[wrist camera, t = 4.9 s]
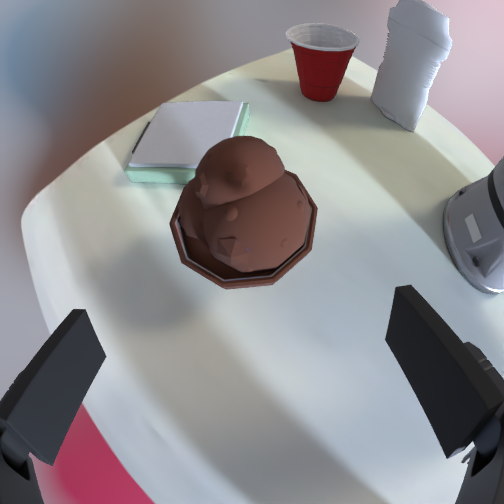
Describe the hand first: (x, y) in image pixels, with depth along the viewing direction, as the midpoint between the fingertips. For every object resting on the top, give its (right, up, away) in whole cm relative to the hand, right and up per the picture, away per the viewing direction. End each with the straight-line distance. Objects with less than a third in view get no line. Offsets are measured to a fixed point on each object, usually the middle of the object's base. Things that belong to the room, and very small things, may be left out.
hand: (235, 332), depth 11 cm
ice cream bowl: (+1, +2, +19) cm, 19 cm away
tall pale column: (+24, +26, +27) cm, 45 cm away
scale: (-8, +18, +26) cm, 32 cm away
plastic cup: (+12, +30, +29) cm, 43 cm away
